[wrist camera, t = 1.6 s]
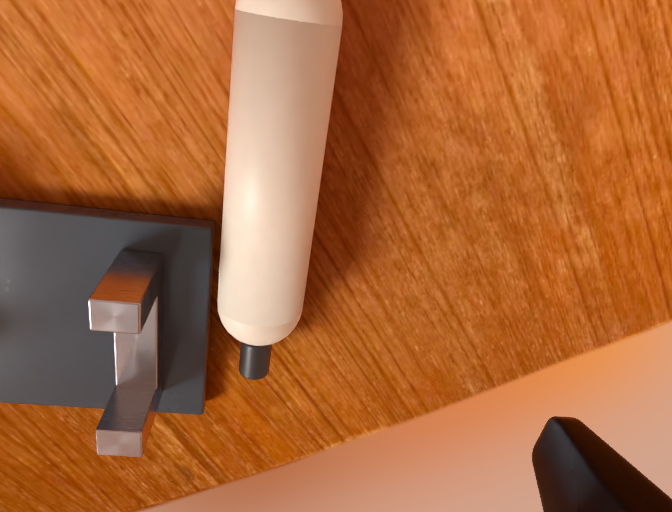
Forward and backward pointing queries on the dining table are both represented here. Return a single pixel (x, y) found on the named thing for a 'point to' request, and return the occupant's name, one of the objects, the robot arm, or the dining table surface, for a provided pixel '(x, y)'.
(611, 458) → the robot arm
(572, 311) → the dining table surface
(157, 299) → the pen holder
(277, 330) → the soldering pen
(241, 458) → the dining table surface
